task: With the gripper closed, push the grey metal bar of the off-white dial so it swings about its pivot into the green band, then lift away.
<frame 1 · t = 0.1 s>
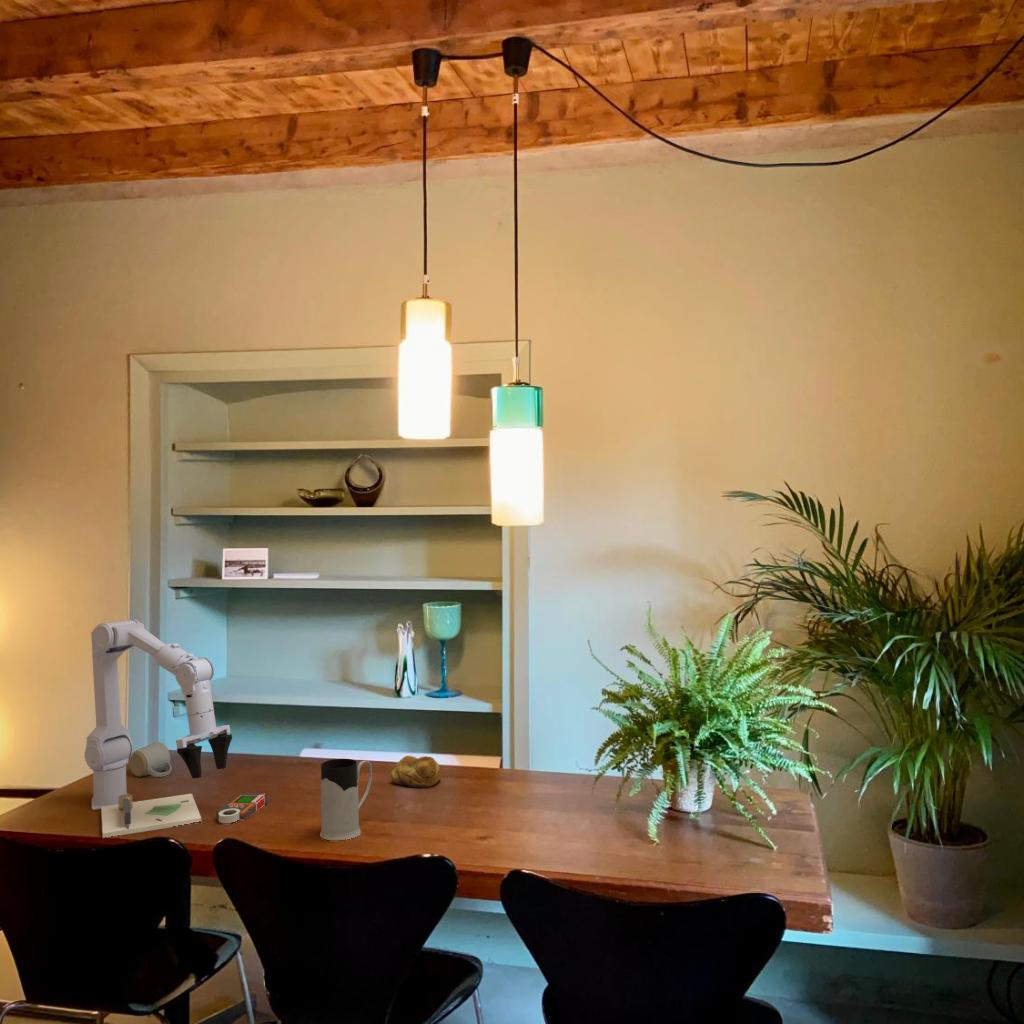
hand: (209, 773, 201), 11 cm above the table, tool pointing down, fingers open, 7 cm apart
bread roll: (416, 784, 225), on the table
grey metal bar: (126, 809, 200), point 3 cm above the table, hinge at 0.0°
dial plate: (150, 816, 204), on the table
tall beer stein: (349, 831, 192), on the table
electronic device: (240, 815, 205), on the table
ceramic mug: (153, 775, 239), on the table
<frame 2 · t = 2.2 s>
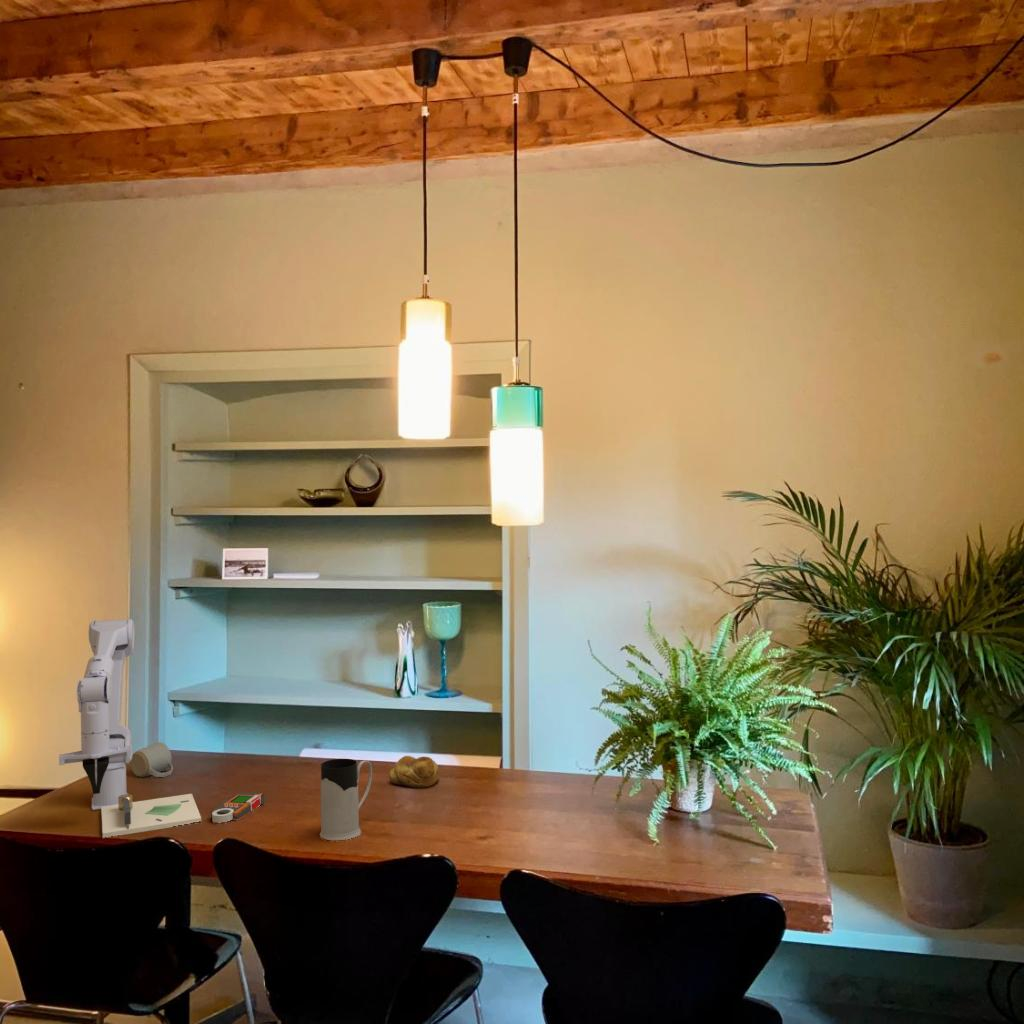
hand: (96, 792, 198), 7 cm above the table, tool pointing down, fingers closed
electronic device: (236, 815, 205), on the table
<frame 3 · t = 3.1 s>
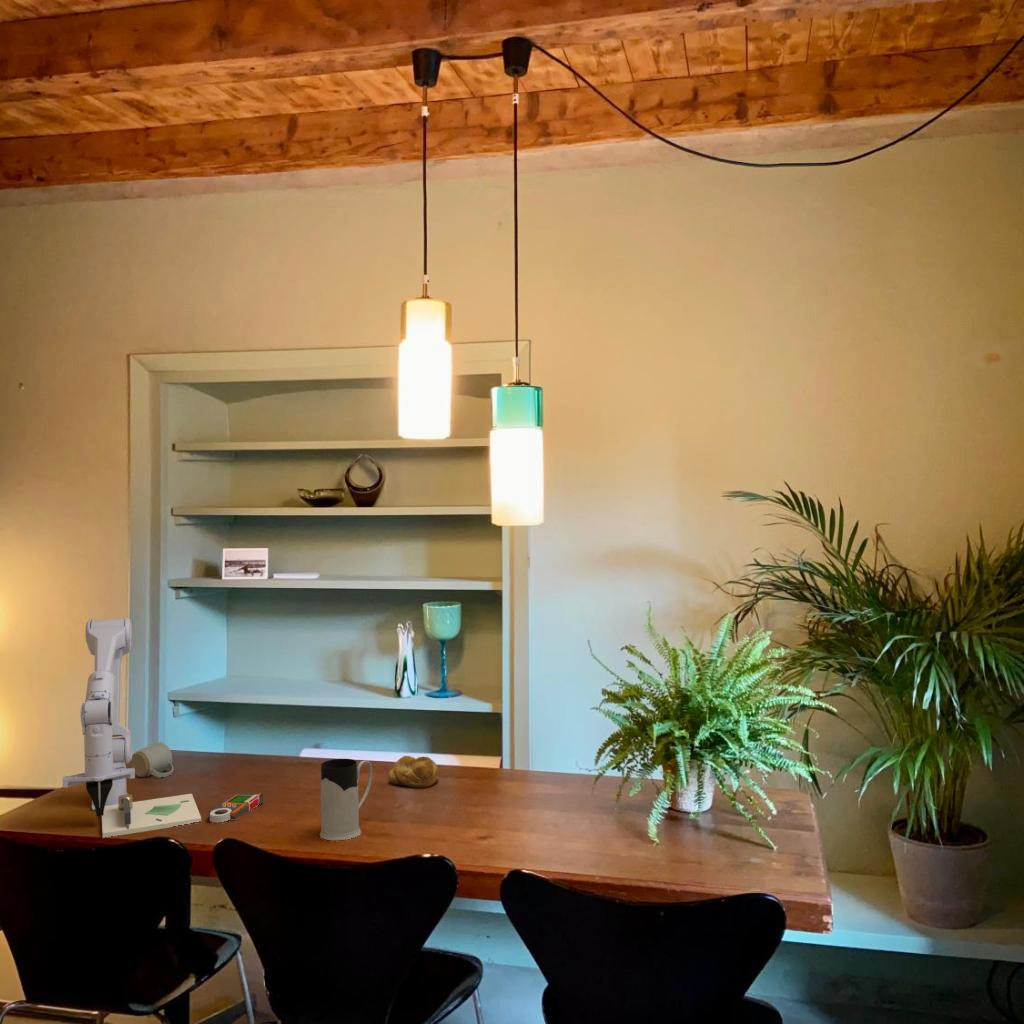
hand: (99, 814, 199), 2 cm above the table, tool pointing down, fingers closed
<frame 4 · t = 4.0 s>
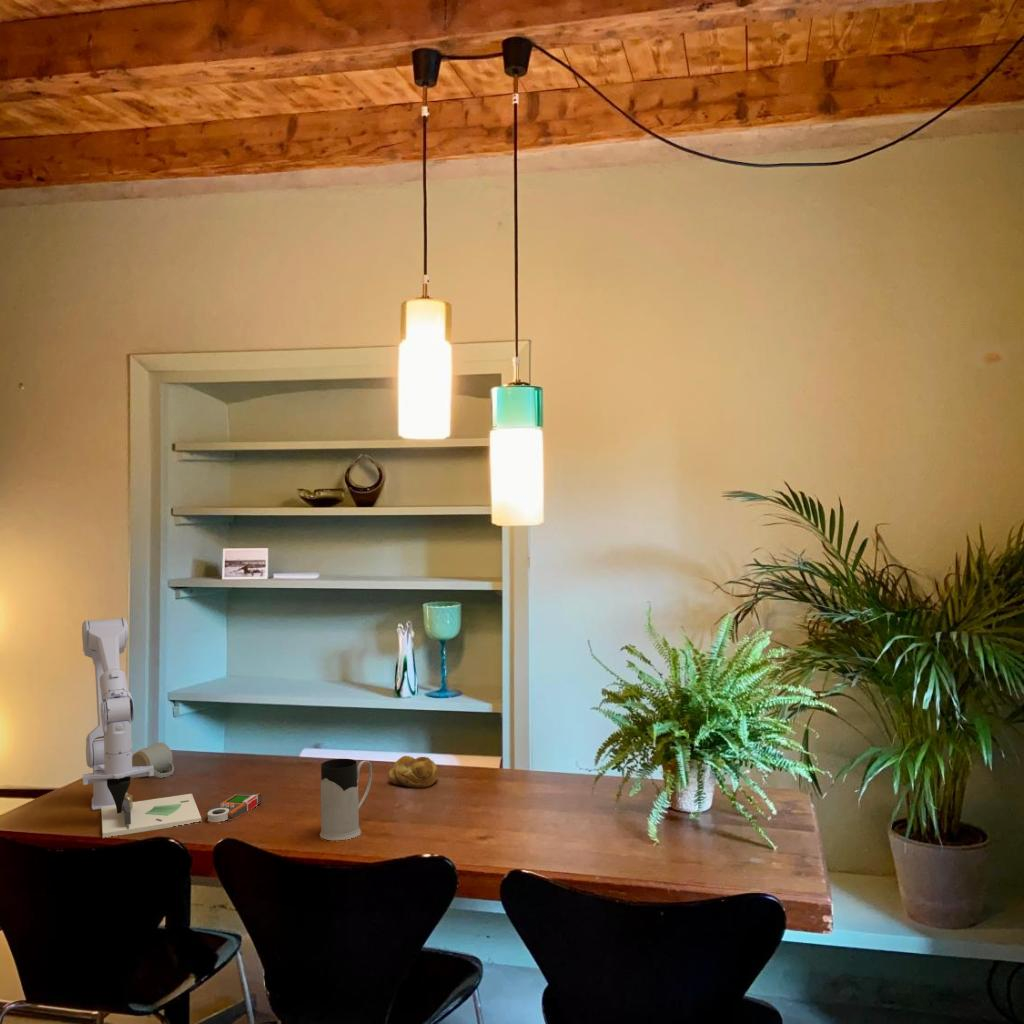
hand: (119, 811, 200), 2 cm above the table, tool pointing down, fingers closed, pressing on grey metal bar
grey metal bar: (126, 809, 200), point 3 cm above the table, hinge at 0.0°, touching gripper
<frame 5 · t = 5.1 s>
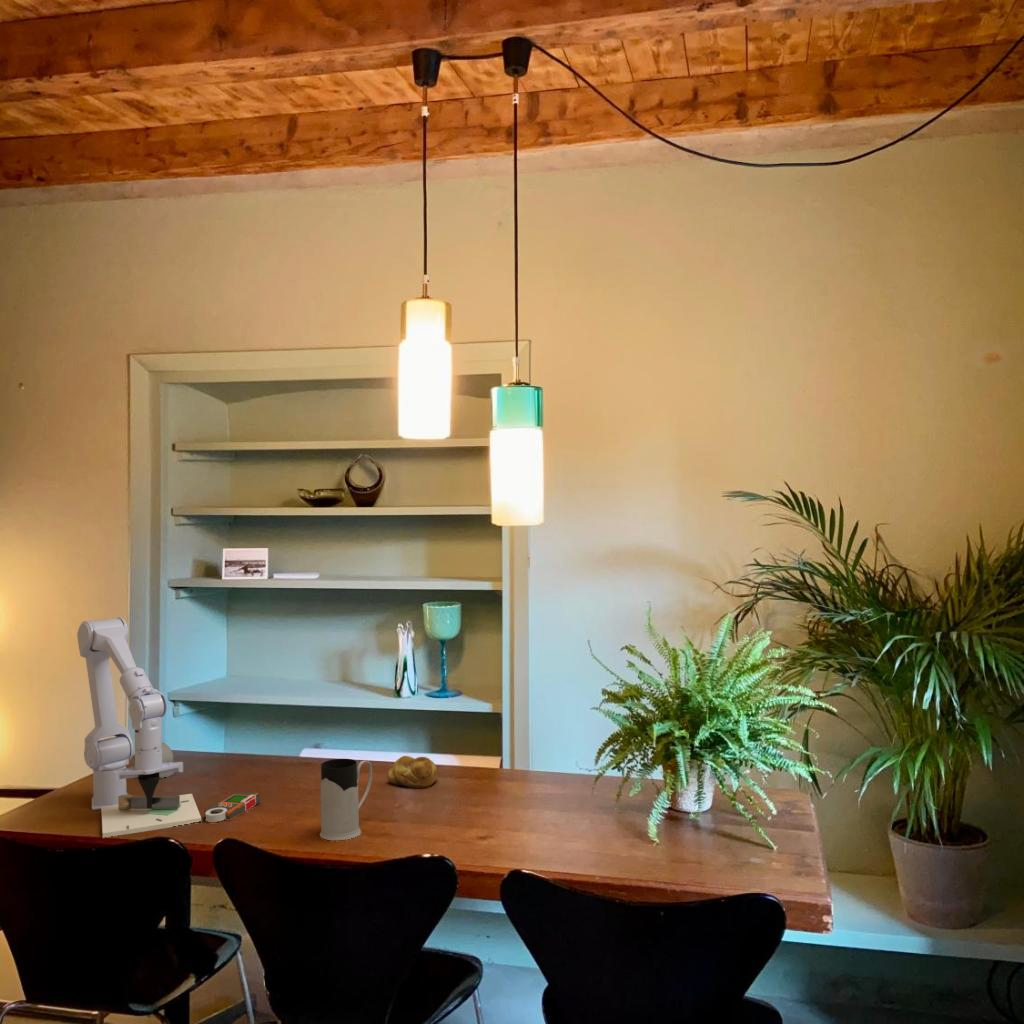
hand: (149, 807, 203), 2 cm above the table, tool pointing down, fingers closed, pressing on grey metal bar
grey metal bar: (148, 802, 205), point 3 cm above the table, hinge at 61.3°, touching gripper
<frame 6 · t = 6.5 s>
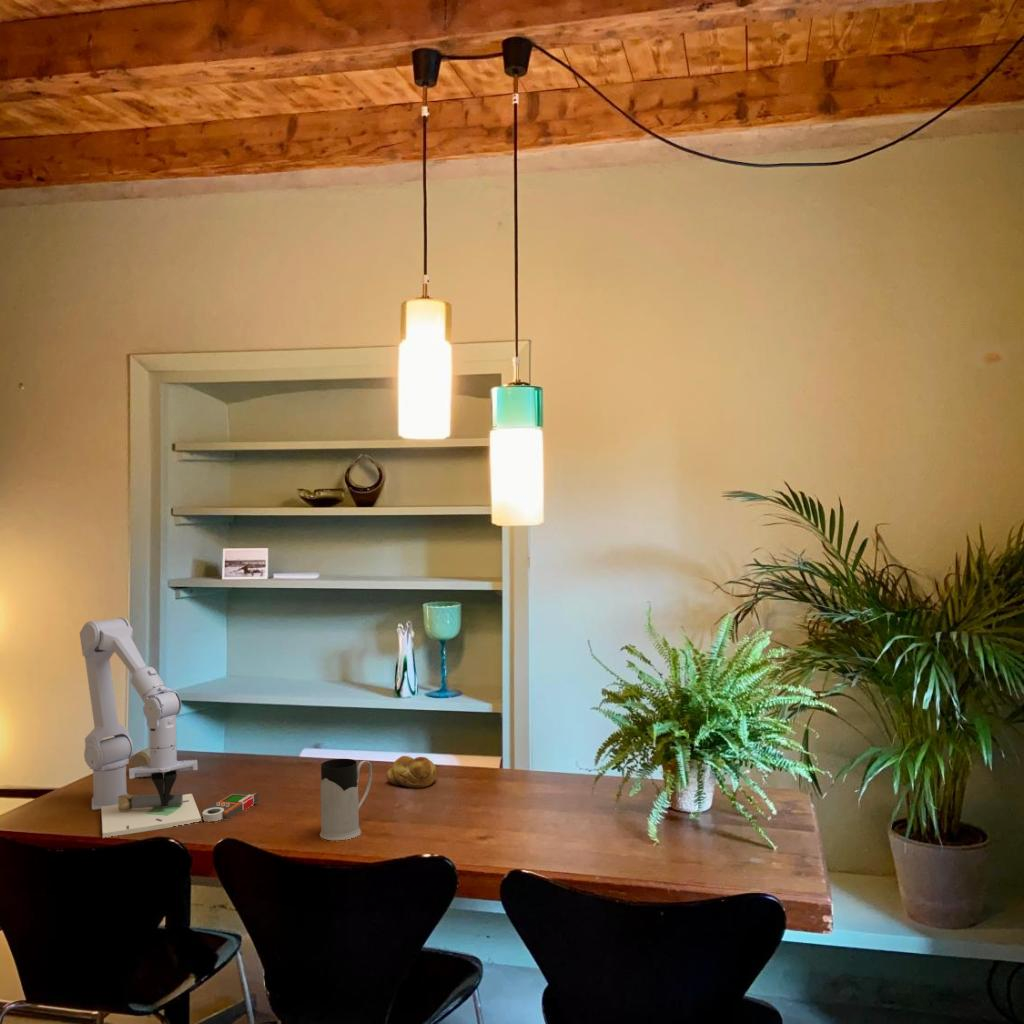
hand: (164, 805, 204), 2 cm above the table, tool pointing down, fingers closed
grey metal bar: (150, 800, 206), point 3 cm above the table, hinge at 72.0°, touching gripper
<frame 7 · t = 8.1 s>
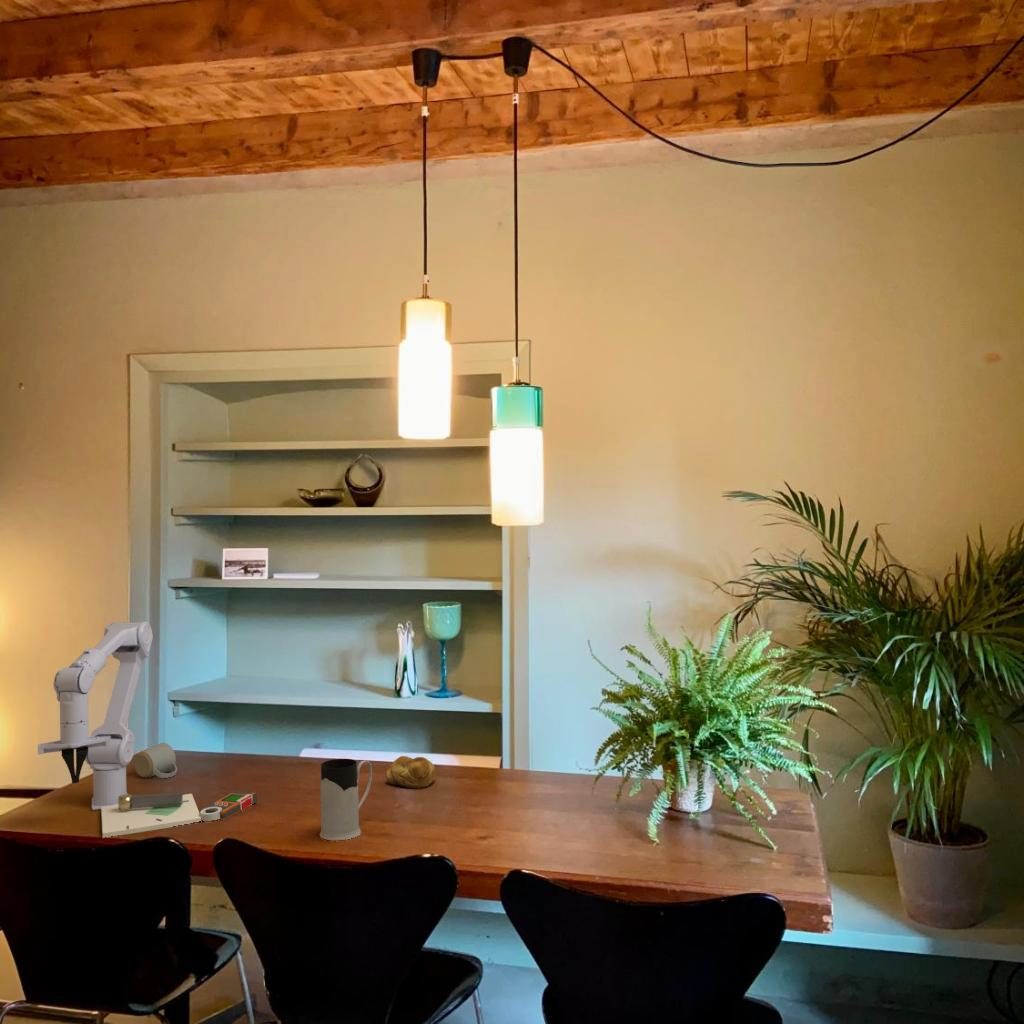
hand: (75, 781, 200), 9 cm above the table, tool pointing down, fingers closed
grey metal bar: (150, 800, 206), point 3 cm above the table, hinge at 72.1°
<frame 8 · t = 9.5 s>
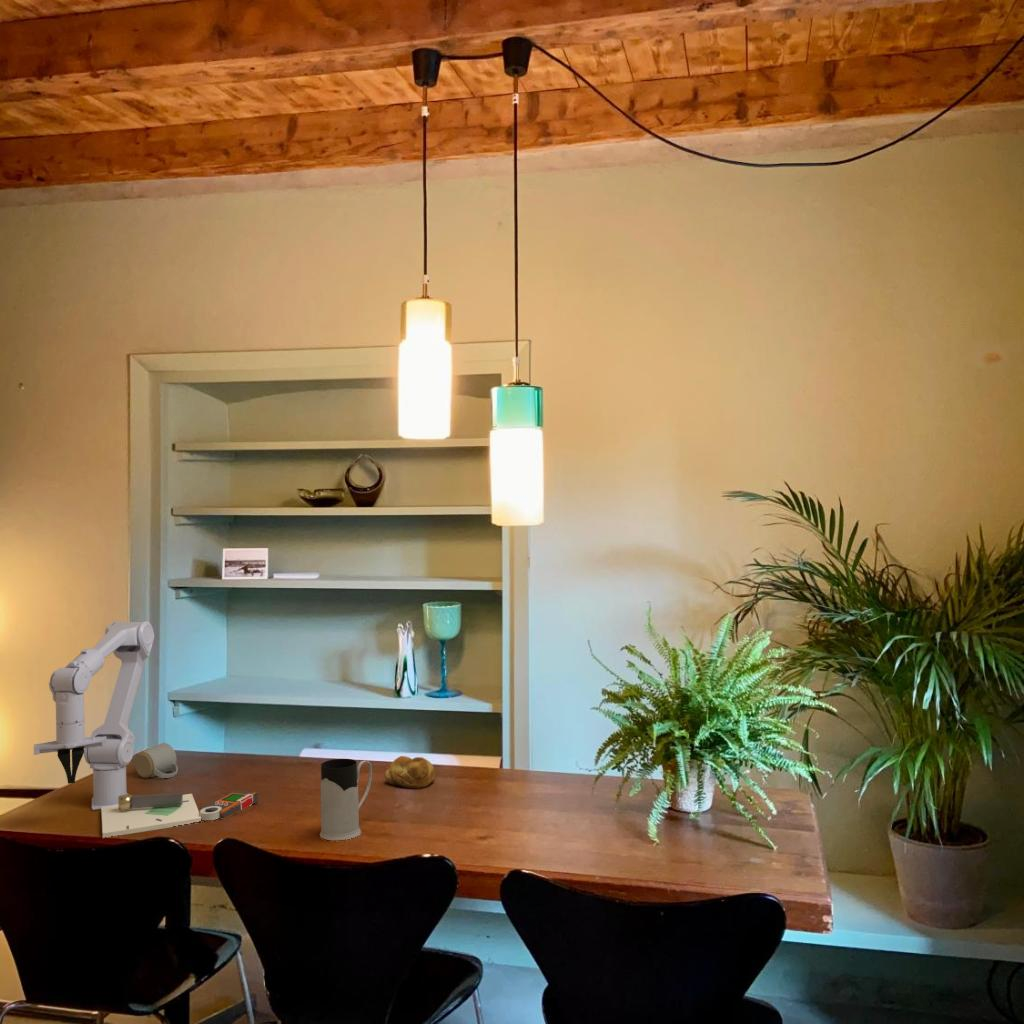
hand: (71, 782, 200), 9 cm above the table, tool pointing down, fingers closed
at the end: grey metal bar at +72° (first picture: +0°); grey metal bar touching nothing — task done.
